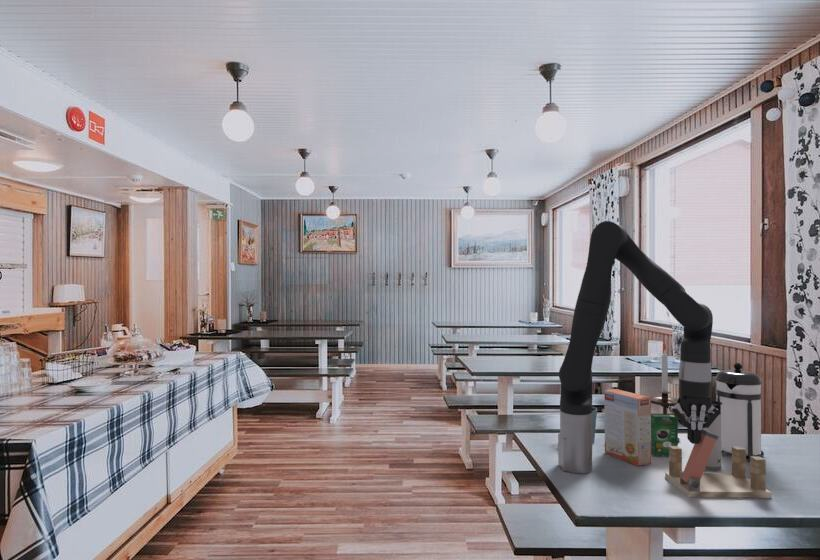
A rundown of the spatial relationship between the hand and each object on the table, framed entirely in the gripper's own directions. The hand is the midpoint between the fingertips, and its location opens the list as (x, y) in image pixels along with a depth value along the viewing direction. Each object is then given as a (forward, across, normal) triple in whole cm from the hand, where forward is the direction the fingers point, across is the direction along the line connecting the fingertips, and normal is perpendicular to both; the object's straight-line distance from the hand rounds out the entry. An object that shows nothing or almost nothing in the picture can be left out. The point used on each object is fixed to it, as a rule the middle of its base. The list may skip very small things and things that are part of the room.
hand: (694, 442), depth 131 cm
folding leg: (+10, -1, 0) cm, 10 cm away
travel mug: (+13, +15, +19) cm, 28 cm away
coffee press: (+13, +31, +31) cm, 46 cm away
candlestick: (+14, +14, +45) cm, 49 cm away
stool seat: (+13, +8, +4) cm, 16 cm away
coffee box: (+14, +6, +29) cm, 33 cm away
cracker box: (+14, -7, +26) cm, 30 cm away
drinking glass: (+14, -16, +43) cm, 48 cm away
